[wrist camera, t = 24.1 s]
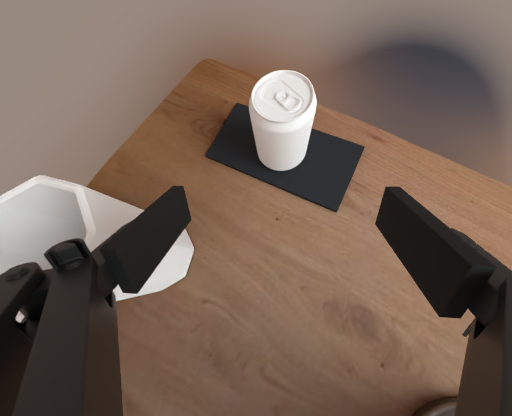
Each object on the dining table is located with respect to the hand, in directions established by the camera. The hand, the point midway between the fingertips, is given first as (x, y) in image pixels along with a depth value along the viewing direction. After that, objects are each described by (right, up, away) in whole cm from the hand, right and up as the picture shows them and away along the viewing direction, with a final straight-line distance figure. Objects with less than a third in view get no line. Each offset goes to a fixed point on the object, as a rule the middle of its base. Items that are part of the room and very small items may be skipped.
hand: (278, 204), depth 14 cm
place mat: (+3, +9, +21) cm, 24 cm away
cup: (-17, -8, +19) cm, 27 cm away
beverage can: (+3, +9, +21) cm, 23 cm away
